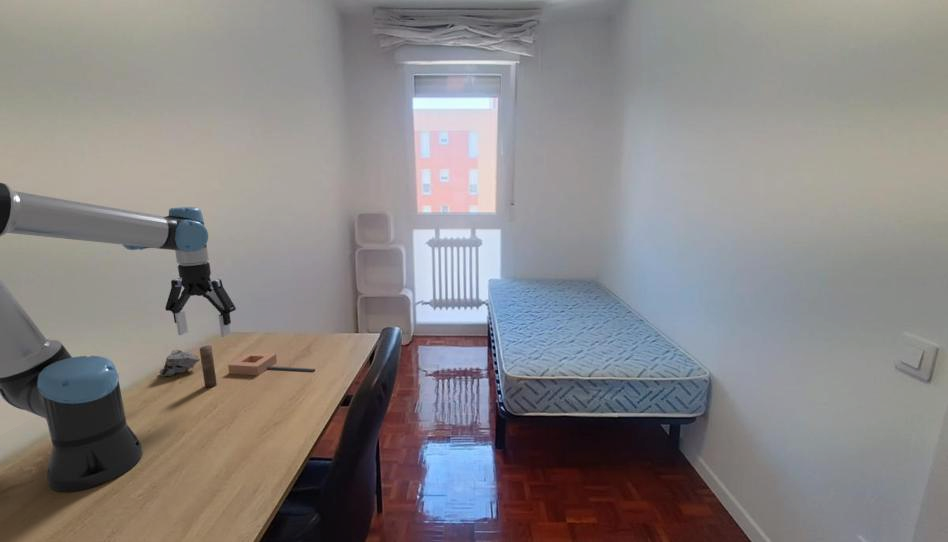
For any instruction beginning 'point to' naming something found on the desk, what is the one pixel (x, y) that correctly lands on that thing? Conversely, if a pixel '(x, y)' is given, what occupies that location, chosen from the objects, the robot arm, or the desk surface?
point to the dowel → (208, 366)
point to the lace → (290, 368)
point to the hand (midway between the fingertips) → (204, 334)
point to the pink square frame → (252, 363)
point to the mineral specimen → (178, 363)
